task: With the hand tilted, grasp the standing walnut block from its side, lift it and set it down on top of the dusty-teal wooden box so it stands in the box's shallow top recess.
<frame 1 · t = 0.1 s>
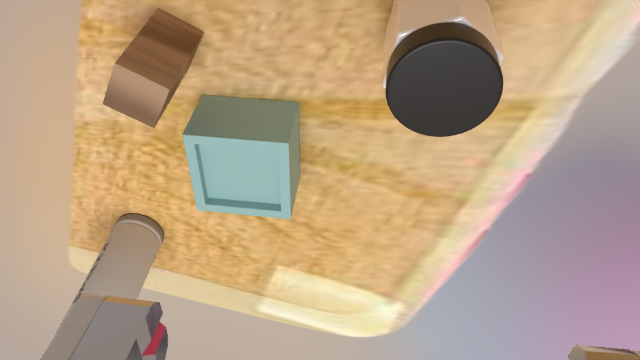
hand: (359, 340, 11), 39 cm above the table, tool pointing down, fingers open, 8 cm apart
travel mug: (142, 228, 70), on the table
walnut block: (174, 39, 51), on the table
jar: (435, 16, 46), on the table
teal box: (254, 136, 58), on the table
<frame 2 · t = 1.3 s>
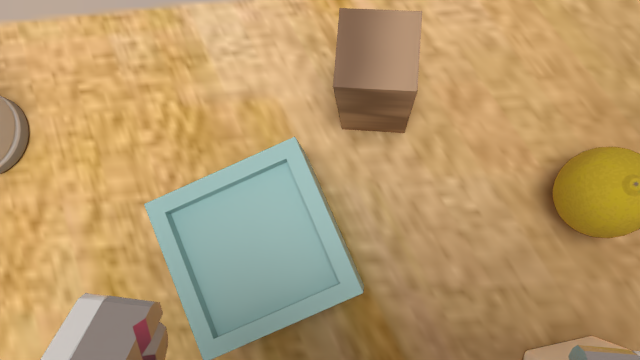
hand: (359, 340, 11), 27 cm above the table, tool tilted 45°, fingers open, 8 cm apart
walnut block: (375, 100, 39), on the table
lemon: (577, 199, 37), on the table
teal box: (271, 248, 38), on the table
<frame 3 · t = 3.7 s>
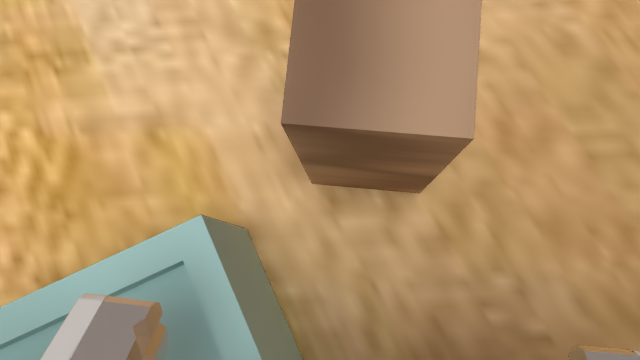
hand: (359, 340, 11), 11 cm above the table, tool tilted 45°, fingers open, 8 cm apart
walnut block: (370, 136, 23), on the table
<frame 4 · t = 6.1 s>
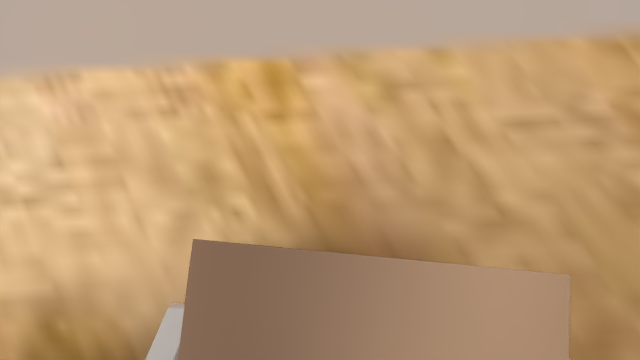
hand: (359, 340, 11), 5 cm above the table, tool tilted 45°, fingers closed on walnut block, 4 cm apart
walnut block: (354, 335, 16), on the table, touching gripper
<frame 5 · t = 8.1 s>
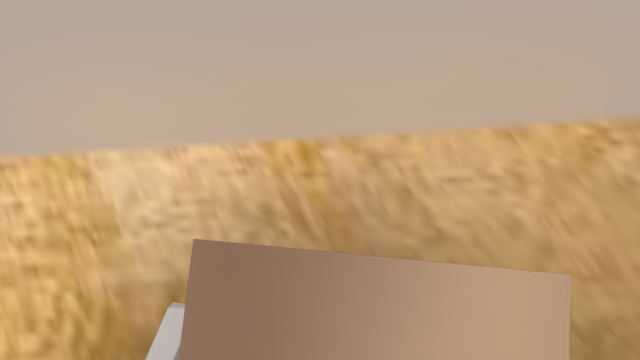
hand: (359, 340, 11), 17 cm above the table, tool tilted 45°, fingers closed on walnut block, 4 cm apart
walnut block: (354, 335, 16), point 12 cm above the table, touching gripper
when the fingers open (13 cm above the table, at t = 10.4 s): walnut block drops 2 cm, resting on teal box.
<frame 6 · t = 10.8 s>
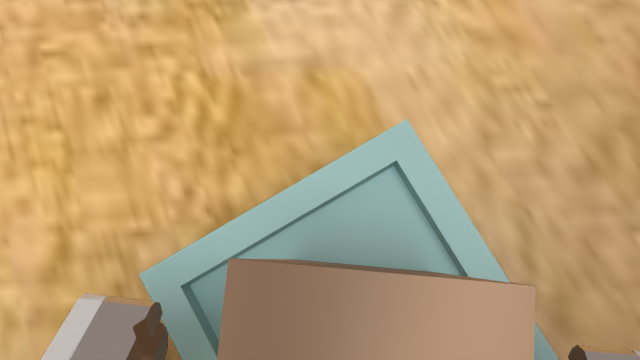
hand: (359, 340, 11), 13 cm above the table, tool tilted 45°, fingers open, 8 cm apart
walnut block: (356, 335, 17), point 6 cm above the table, touching teal box
teal box: (352, 313, 23), on the table, touching walnut block
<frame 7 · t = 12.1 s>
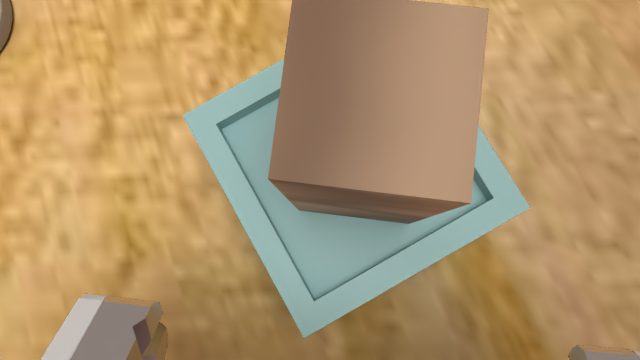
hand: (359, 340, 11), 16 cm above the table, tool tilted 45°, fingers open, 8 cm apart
walnut block: (360, 162, 22), point 6 cm above the table
teal box: (348, 182, 28), on the table
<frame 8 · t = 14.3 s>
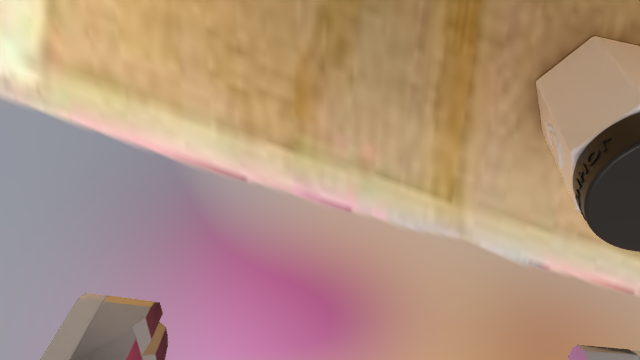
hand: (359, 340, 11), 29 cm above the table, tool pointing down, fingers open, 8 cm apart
jar: (595, 92, 38), on the table
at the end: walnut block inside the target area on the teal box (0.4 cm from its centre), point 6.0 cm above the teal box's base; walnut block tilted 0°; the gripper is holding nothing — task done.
